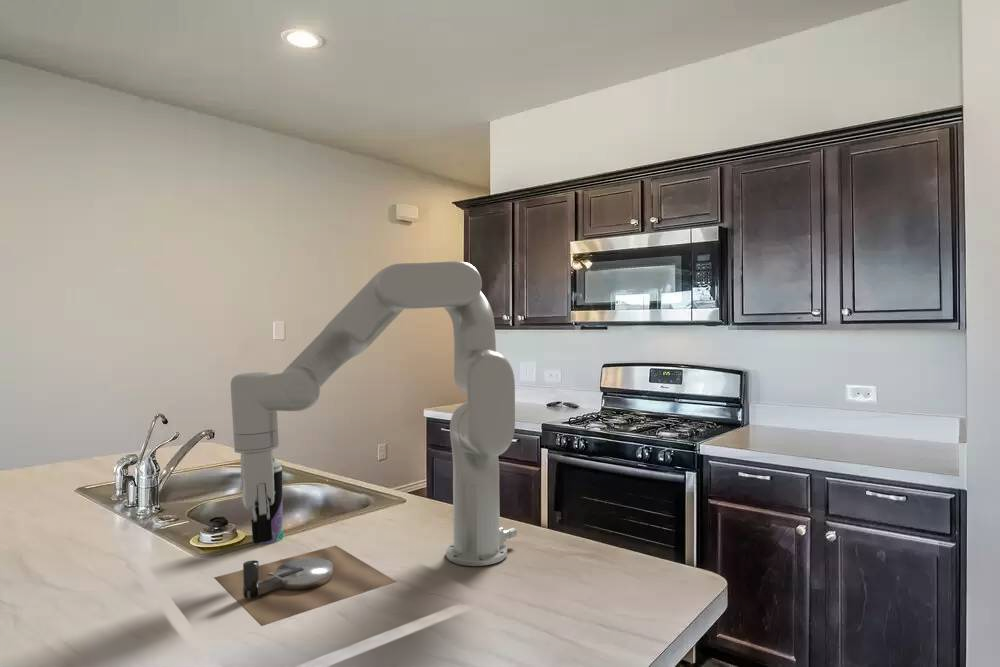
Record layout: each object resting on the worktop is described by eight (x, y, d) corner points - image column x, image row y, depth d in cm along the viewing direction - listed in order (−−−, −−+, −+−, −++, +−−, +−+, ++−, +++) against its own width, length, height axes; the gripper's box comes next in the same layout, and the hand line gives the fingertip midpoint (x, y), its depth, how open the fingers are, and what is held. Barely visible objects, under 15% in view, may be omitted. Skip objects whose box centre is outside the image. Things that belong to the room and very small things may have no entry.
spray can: (274, 551, 129) (272, 457, 128) (250, 550, 130) (249, 456, 129) (288, 542, 134) (286, 451, 134) (265, 541, 135) (264, 450, 135)
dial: (313, 562, 118) (313, 533, 118) (343, 576, 112) (343, 545, 112) (230, 590, 106) (230, 557, 106) (259, 608, 99) (258, 573, 99)
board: (335, 552, 128) (335, 544, 128) (396, 589, 110) (396, 580, 110) (214, 585, 112) (214, 576, 112) (261, 635, 94) (261, 624, 94)
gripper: (231, 437, 116) (237, 532, 117) (236, 451, 103) (242, 559, 103) (273, 432, 119) (279, 524, 120) (283, 445, 106) (289, 549, 107)
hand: (262, 540), depth 112 cm, fingers closed
